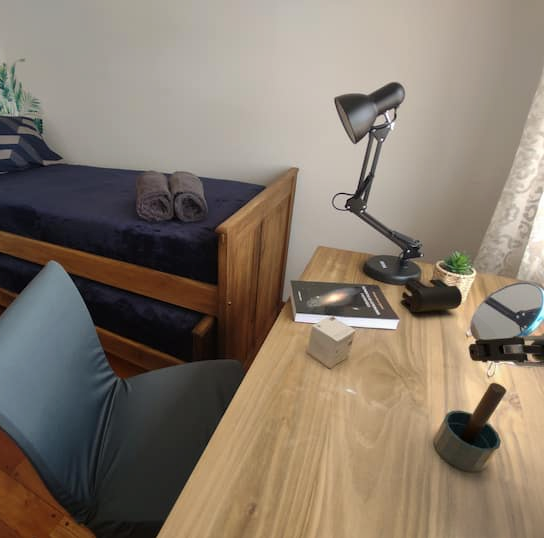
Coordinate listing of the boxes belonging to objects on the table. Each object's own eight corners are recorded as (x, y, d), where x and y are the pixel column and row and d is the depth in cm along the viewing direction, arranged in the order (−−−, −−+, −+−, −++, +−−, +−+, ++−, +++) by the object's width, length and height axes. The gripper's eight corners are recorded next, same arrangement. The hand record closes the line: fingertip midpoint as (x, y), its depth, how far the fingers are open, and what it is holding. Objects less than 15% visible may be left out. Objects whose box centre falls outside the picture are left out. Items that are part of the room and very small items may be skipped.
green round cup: (464, 432, 59) (477, 410, 56) (496, 472, 53) (512, 450, 51) (423, 433, 59) (435, 411, 56) (451, 473, 53) (465, 451, 50)
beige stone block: (329, 369, 72) (337, 341, 68) (305, 352, 76) (311, 324, 72) (348, 357, 74) (356, 329, 71) (324, 341, 79) (330, 314, 75)
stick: (462, 442, 57) (500, 380, 50) (473, 457, 55) (514, 394, 48) (447, 443, 57) (483, 381, 50) (457, 457, 55) (496, 395, 48)
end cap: (416, 319, 85) (425, 295, 81) (398, 302, 91) (405, 279, 87) (455, 316, 86) (466, 292, 82) (434, 299, 92) (444, 276, 88)
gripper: (726, 309, 32) (557, 327, 48) (558, 305, 33) (446, 323, 49) (756, 397, 30) (570, 385, 46) (577, 389, 31) (454, 380, 47)
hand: (506, 353), depth 48 cm, fingers open, 8 cm apart
